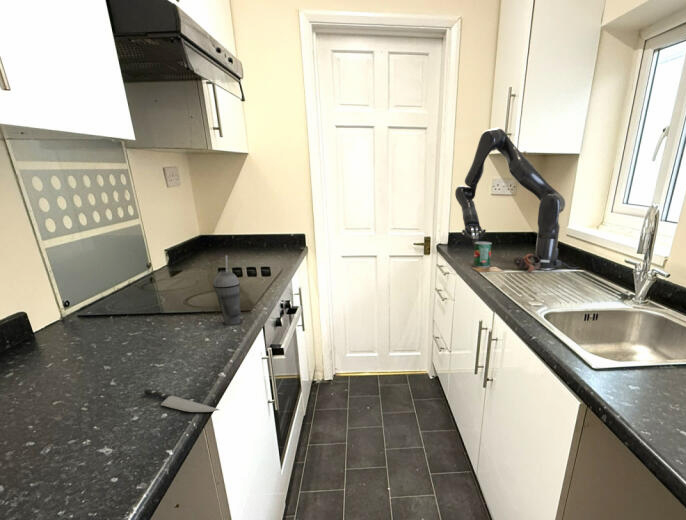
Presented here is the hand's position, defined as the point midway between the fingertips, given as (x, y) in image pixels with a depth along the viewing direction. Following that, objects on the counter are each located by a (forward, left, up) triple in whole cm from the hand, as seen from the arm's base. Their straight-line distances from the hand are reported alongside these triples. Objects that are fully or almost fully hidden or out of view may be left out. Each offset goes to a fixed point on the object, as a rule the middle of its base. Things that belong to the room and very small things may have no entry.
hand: (476, 246), depth 204 cm
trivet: (0, +17, -8) cm, 19 cm away
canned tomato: (0, +9, -8) cm, 12 cm away
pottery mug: (-17, +21, -8) cm, 28 cm away
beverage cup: (+102, +75, -8) cm, 127 cm away
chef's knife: (+102, +124, -8) cm, 161 cm away
